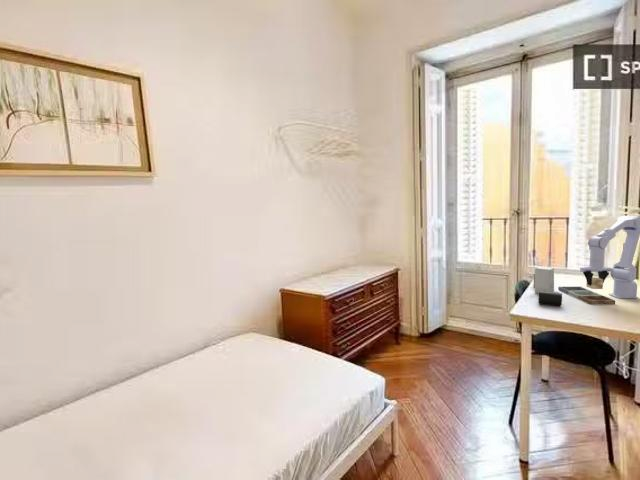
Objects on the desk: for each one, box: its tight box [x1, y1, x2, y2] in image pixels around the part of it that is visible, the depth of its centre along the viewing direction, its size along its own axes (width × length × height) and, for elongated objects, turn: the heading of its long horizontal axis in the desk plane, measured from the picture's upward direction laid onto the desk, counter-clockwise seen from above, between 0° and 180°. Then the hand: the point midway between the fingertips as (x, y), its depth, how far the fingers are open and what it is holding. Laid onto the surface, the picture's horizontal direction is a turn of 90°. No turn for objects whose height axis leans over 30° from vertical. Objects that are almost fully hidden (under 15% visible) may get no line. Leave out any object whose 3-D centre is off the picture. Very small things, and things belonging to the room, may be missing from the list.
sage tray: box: [567, 290, 603, 300], centre depth 201 cm, size 12×9×2 cm
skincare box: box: [534, 266, 555, 294], centre depth 209 cm, size 8×6×15 cm
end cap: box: [538, 291, 563, 307], centre depth 188 cm, size 10×7×7 cm
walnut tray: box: [578, 295, 616, 305], centre depth 191 cm, size 12×9×2 cm
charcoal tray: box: [558, 286, 591, 295], centre depth 211 cm, size 12×9×2 cm
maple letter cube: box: [585, 276, 604, 290], centre depth 193 cm, size 5×5×5 cm
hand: (594, 285), depth 193 cm, fingers closed on maple letter cube, 5 cm apart
